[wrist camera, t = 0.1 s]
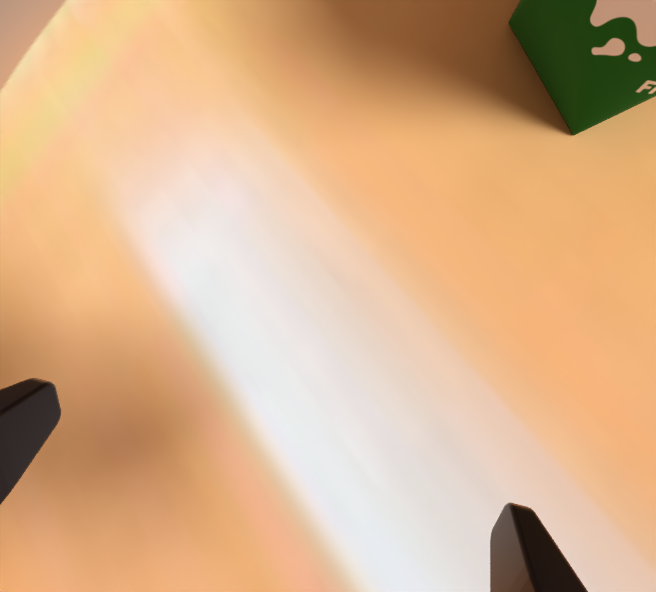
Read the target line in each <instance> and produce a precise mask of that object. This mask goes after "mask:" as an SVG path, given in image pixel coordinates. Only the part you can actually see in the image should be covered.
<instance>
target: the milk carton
mask: <svg viewBox="0 0 656 592" xmlns="http://www.w3.org/2000/svg"><path fill="white" fill-rule="evenodd" d="M509 25H510V26H511V28H512V30H513V32H514V33H515V35H516V37H517V38H518V40H519V42H520V44H521V45H522V47H523V49H524V51H525V52H526V54H527V56H528V58H529V59H530V61H531V63H532V65H533V66H534V68H535V70H536V72H537V73H538V75H539V77H540V78H541V80H542V82H543V84H544V85H545V87H546V89H547V91H548V92H549V94H550V96H551V98H552V99H553V101H554V103H555V105H556V106H557V108H558V110H559V112H560V113H561V115H562V117H563V119H564V120H565V122H566V124H567V125H568V127H569V129H570V131H571V132H572V134H573V135H576V134H578V133H580V132H582V131H584V130H586V129H588V128H590V127H592V126H594V125H596V124H598V123H601V122H603V121H605V120H607V119H609V118H611V117H613V116H615V115H617V114H619V113H621V112H623V111H626V110H628V109H630V108H632V107H634V106H636V105H638V104H640V103H642V102H644V101H646V100H648V99H650V98H652V97H655V96H656V0H520V2H519V4H518V6H517V8H516V10H515V11H514V13H513V15H512V17H511V19H510V21H509Z"/></svg>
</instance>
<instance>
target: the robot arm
mask: <svg viewBox="0 0 656 592" xmlns="http://www.w3.org/2000/svg"><path fill="white" fill-rule="evenodd" d="M60 416H61V409H60V404H59V400H58V396H57V391H56V388H55V385H54V384H53V383H51V382H49V381H45V380H41V379H37V378H31V379H28V380H25V381H22V382H20V383H17V384H14V385H12V386H9V387H7V388H4V389H1V390H0V504H1V503H2V502H3V501H4V499H5V498H6V497H7V496H8V494H9V493H10V492H11V490H12V489H13V488H14V486H15V485H16V483H17V482H18V481H19V479H20V478H21V476H22V475H23V473H24V472H25V471H26V469H27V468H28V466H29V465H30V463H31V462H32V460H33V459H34V457H35V456H36V454H37V453H38V451H39V450H40V449H41V447H42V446H43V444H44V443H45V441H46V440H47V438H48V437H49V435H50V434H51V432H52V431H53V430H54V428H55V427H56V425H57V423H58V422H59V419H60ZM490 592H588V591H587V590H586V588H585V587H584V585H583V584H582V582H581V581H580V579H579V578H578V576H577V575H576V573H575V572H574V570H573V569H572V567H571V566H570V564H569V563H568V561H567V560H566V558H565V557H564V555H563V554H562V552H561V551H560V549H559V548H558V546H557V545H556V543H555V542H554V540H553V539H552V537H551V536H550V534H549V533H548V531H547V530H546V528H545V527H544V525H543V524H542V522H541V521H540V519H539V518H538V516H537V515H536V513H535V512H534V511H533V510H532V509H531V508H529V507H526V506H522V505H518V504H514V503H508V504H506V505H505V507H504V509H503V510H502V512H501V514H500V516H499V518H498V520H497V522H496V523H495V525H494V527H493V530H492V533H491V540H490Z"/></svg>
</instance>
